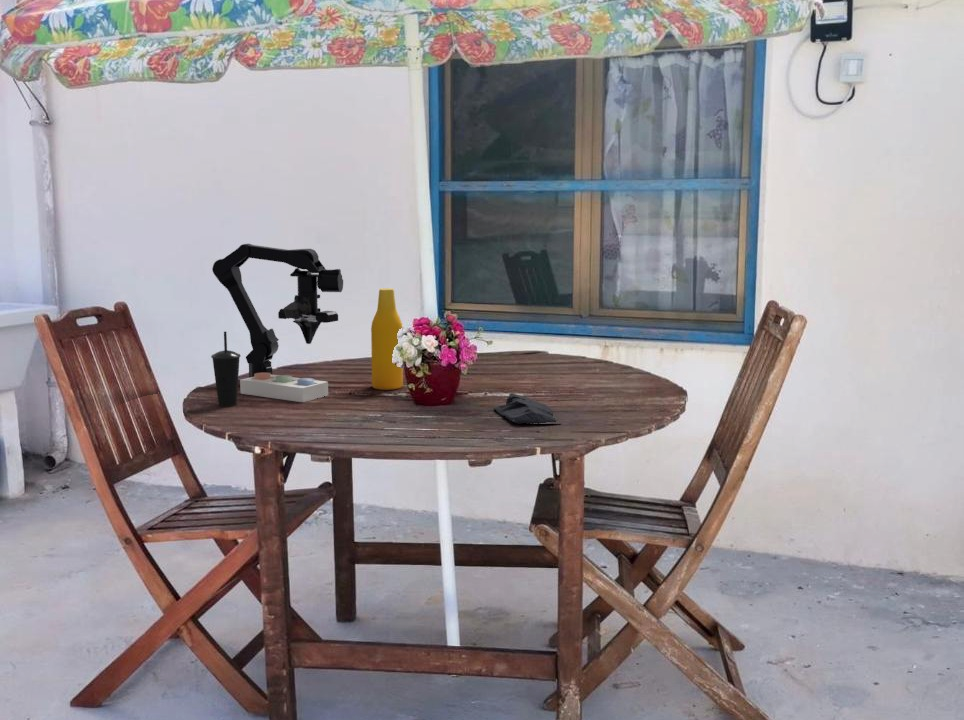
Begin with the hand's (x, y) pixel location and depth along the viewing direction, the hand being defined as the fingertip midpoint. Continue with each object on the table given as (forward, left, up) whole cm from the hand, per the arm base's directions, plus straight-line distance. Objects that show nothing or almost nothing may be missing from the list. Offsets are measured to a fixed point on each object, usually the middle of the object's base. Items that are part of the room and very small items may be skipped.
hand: (308, 343), depth 320 cm
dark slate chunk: (+77, -5, -13) cm, 78 cm away
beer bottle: (+23, +8, -12) cm, 27 cm away
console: (+5, -17, -12) cm, 21 cm away
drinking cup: (+1, -36, -12) cm, 38 cm away
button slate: (+13, -17, -12) cm, 24 cm away
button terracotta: (-3, -17, -12) cm, 21 cm away
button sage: (+5, -17, -12) cm, 21 cm away
